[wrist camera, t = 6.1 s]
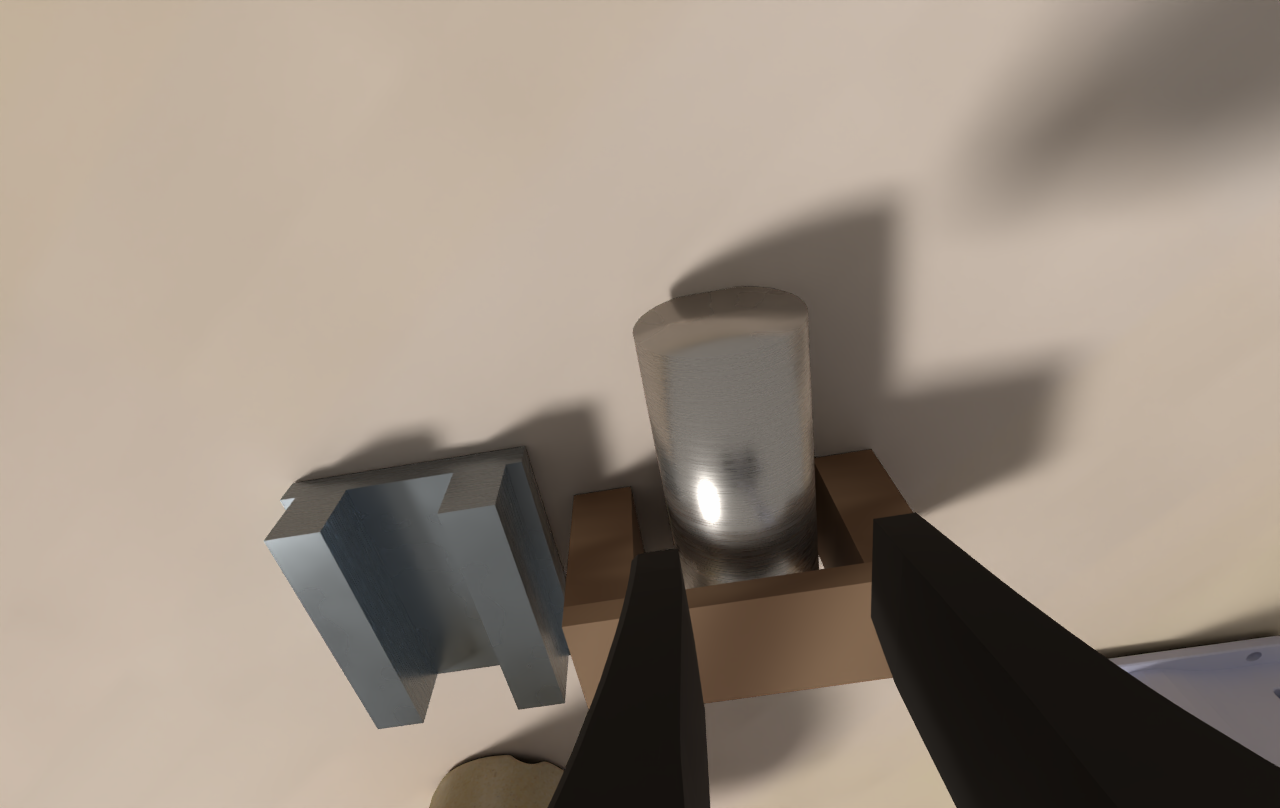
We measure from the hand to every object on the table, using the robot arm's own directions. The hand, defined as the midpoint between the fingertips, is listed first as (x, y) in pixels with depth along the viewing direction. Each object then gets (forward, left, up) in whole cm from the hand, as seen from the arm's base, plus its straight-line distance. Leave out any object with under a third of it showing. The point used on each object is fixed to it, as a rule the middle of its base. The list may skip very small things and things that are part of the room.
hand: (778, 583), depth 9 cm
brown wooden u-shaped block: (0, +6, -8) cm, 10 cm away
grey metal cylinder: (0, +3, -7) cm, 7 cm away
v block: (+9, +6, -8) cm, 14 cm away
